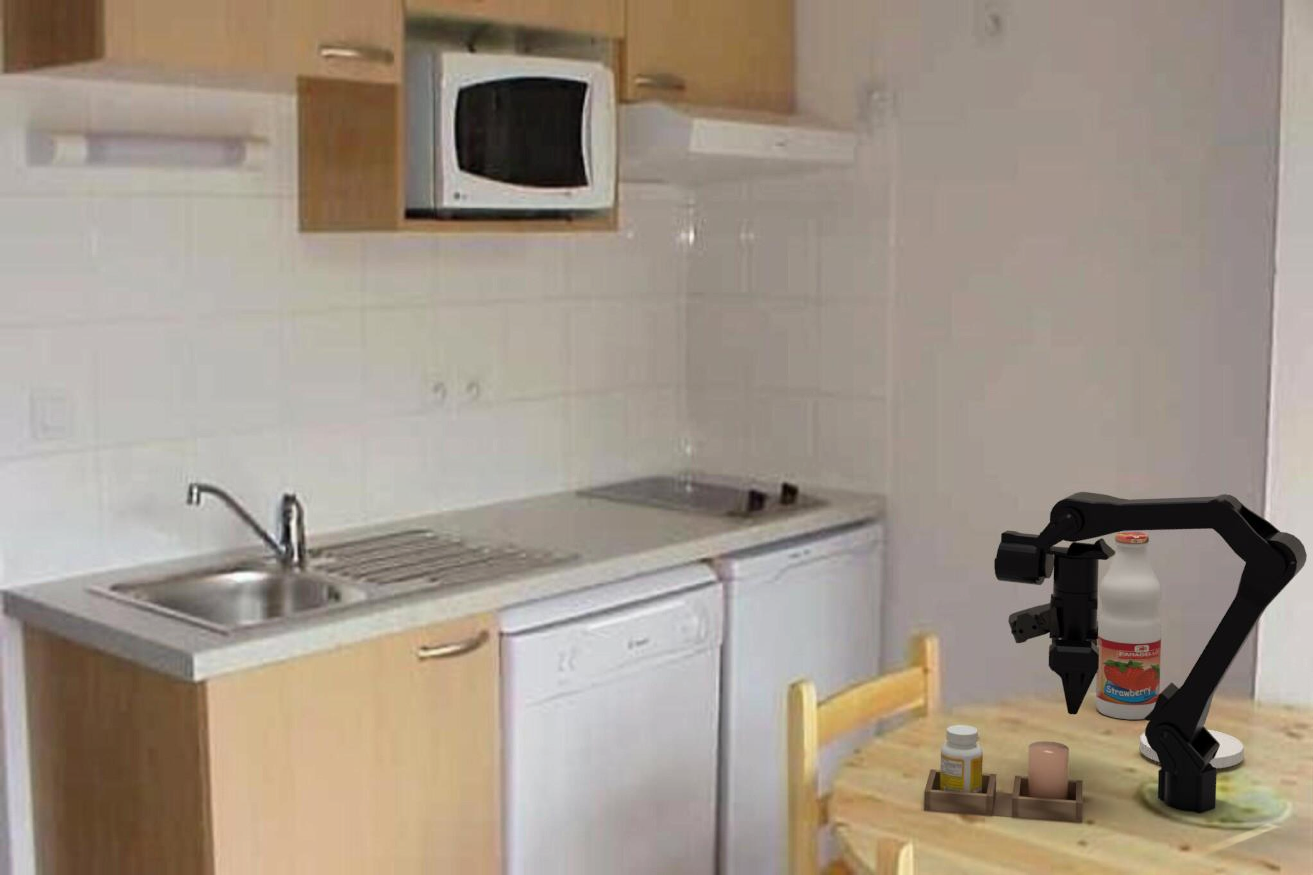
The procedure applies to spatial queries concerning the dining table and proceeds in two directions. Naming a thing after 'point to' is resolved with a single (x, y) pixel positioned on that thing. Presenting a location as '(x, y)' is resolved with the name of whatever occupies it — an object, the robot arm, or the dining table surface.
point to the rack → (1004, 800)
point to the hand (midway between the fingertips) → (1072, 703)
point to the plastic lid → (1225, 756)
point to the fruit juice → (1129, 632)
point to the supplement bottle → (961, 760)
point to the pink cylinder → (1048, 770)
